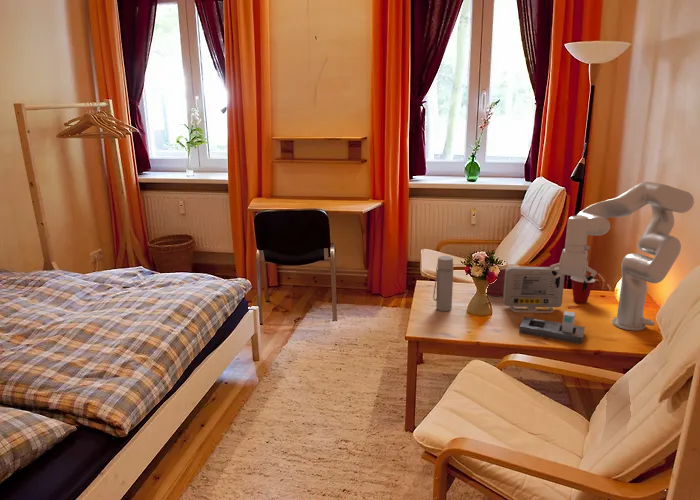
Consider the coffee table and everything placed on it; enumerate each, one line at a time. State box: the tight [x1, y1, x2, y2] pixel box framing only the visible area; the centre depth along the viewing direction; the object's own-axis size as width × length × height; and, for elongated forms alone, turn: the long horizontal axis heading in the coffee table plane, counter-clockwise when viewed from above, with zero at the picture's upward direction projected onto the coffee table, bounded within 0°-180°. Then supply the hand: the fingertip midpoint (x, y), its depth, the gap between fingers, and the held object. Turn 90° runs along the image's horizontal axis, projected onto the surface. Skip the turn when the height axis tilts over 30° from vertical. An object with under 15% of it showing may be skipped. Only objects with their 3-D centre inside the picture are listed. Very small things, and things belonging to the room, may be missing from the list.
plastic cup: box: [570, 276, 596, 305], centre depth 245 cm, size 11×11×12 cm
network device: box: [502, 266, 566, 314], centre depth 236 cm, size 26×9×20 cm, turn 84°
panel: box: [518, 316, 585, 345], centre depth 213 cm, size 24×11×3 cm, turn 61°
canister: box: [486, 258, 510, 297], centre depth 258 cm, size 13×13×18 cm
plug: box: [561, 310, 576, 333], centre depth 209 cm, size 4×5×10 cm
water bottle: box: [432, 255, 454, 312], centre depth 236 cm, size 9×8×25 cm
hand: (570, 288), depth 205 cm, fingers open, 9 cm apart
